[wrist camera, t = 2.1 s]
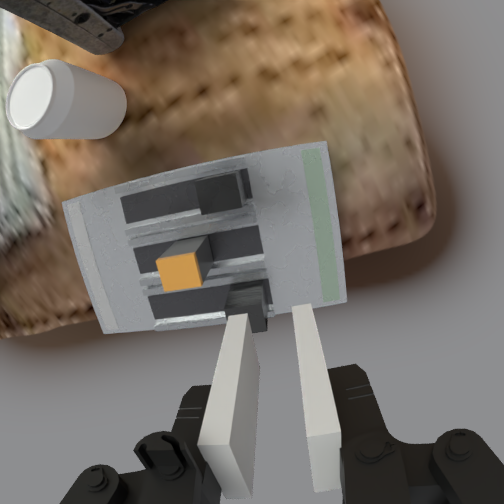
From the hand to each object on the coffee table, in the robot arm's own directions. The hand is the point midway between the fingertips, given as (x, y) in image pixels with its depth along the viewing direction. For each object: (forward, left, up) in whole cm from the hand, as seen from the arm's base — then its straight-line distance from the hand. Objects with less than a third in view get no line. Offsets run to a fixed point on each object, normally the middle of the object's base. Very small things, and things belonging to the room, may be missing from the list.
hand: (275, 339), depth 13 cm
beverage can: (-14, +16, -19) cm, 28 cm away
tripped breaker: (-7, 0, -16) cm, 18 cm away
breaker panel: (-7, 0, -18) cm, 20 cm away
